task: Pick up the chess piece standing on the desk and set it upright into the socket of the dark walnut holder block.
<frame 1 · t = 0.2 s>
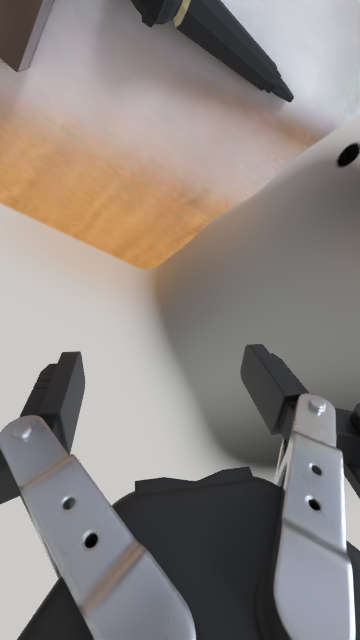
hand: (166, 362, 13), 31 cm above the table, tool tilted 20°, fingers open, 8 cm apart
microphone: (214, 44, 26), on the table
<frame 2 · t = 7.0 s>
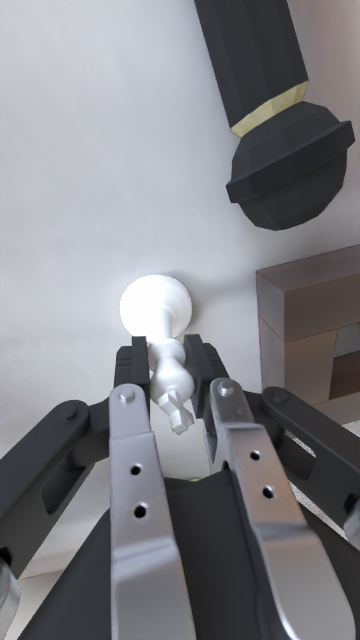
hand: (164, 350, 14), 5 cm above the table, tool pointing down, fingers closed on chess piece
chess piece: (156, 307, 18), on the table, touching gripper
holder: (337, 327, 21), on the table
microphone: (228, 3, 12), on the table
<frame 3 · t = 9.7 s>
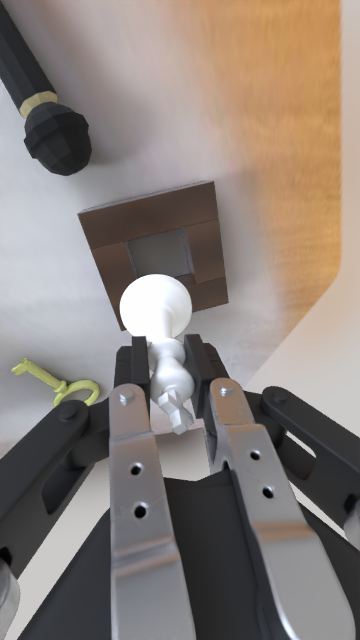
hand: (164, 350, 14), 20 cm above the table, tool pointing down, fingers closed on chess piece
chess piece: (156, 307, 18), point 15 cm above the table, touching gripper
holder: (159, 255, 31), on the table
microphone: (19, 49, 22), on the table
key: (61, 381, 38), on the table
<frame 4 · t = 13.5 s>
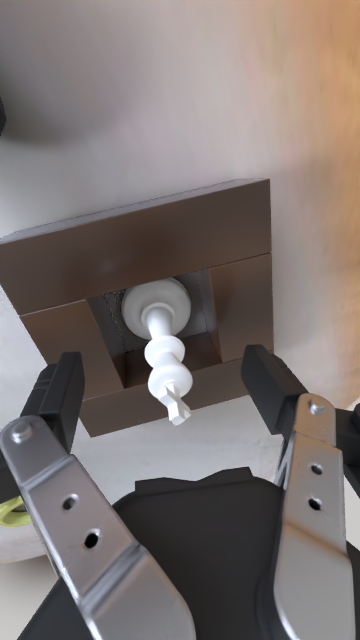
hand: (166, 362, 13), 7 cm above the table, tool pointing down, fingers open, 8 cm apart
chess piece: (156, 306, 19), resting in holder
holder: (156, 305, 18), on the table
key: (9, 483, 25), on the table
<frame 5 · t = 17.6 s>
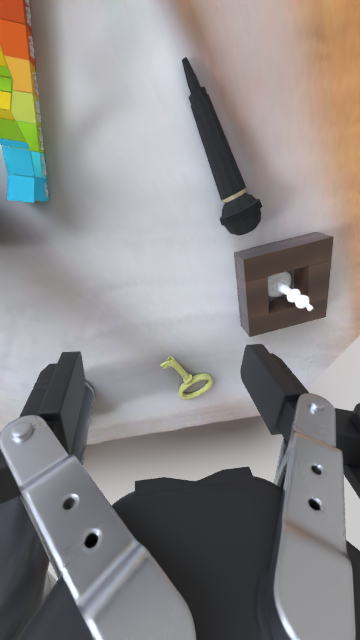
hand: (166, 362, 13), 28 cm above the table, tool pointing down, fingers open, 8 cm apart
chess piece: (275, 282, 44), resting in holder
holder: (275, 281, 44), on the table
chart: (17, 31, 26), on the table
microphone: (220, 157, 34), on the table
key: (186, 374, 50), on the table
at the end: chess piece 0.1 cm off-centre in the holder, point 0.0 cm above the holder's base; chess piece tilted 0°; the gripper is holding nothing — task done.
